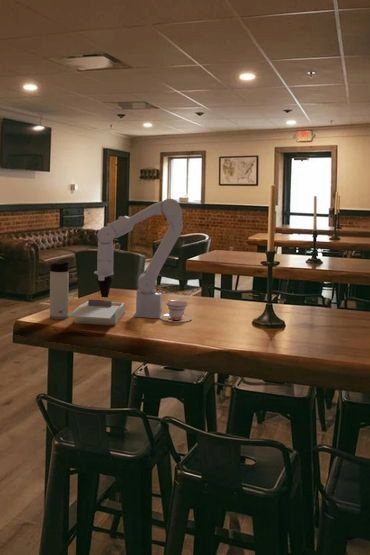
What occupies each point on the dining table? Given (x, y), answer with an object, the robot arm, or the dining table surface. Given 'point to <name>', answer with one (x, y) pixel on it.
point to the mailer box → (112, 321)
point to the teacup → (176, 310)
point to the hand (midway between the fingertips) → (104, 297)
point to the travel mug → (59, 290)
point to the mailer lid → (95, 310)
